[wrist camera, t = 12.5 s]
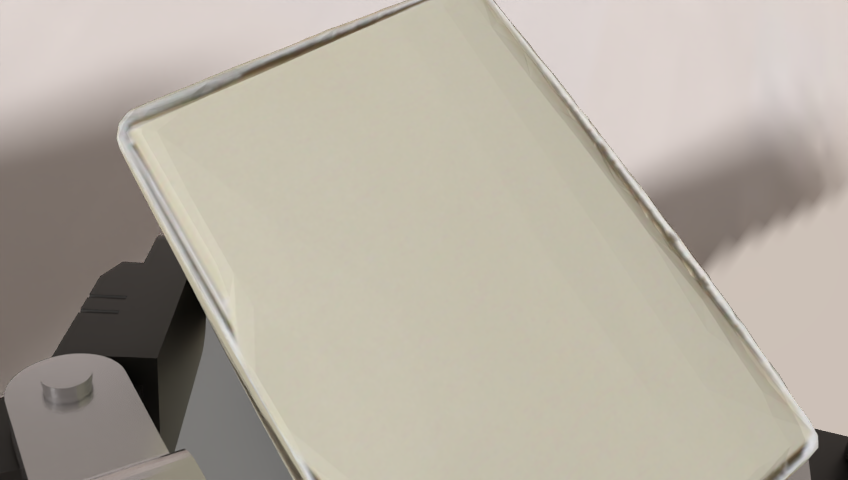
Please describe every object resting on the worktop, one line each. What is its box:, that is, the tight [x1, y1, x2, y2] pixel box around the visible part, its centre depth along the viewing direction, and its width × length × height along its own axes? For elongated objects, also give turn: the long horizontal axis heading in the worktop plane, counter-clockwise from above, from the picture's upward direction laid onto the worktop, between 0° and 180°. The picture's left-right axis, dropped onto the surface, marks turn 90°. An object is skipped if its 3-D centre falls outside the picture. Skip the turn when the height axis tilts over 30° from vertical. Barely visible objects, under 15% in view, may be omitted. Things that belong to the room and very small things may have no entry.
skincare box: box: [117, 0, 818, 480], centre depth 12 cm, size 6×4×12 cm
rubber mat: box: [175, 316, 293, 480], centre depth 19 cm, size 10×10×1 cm
